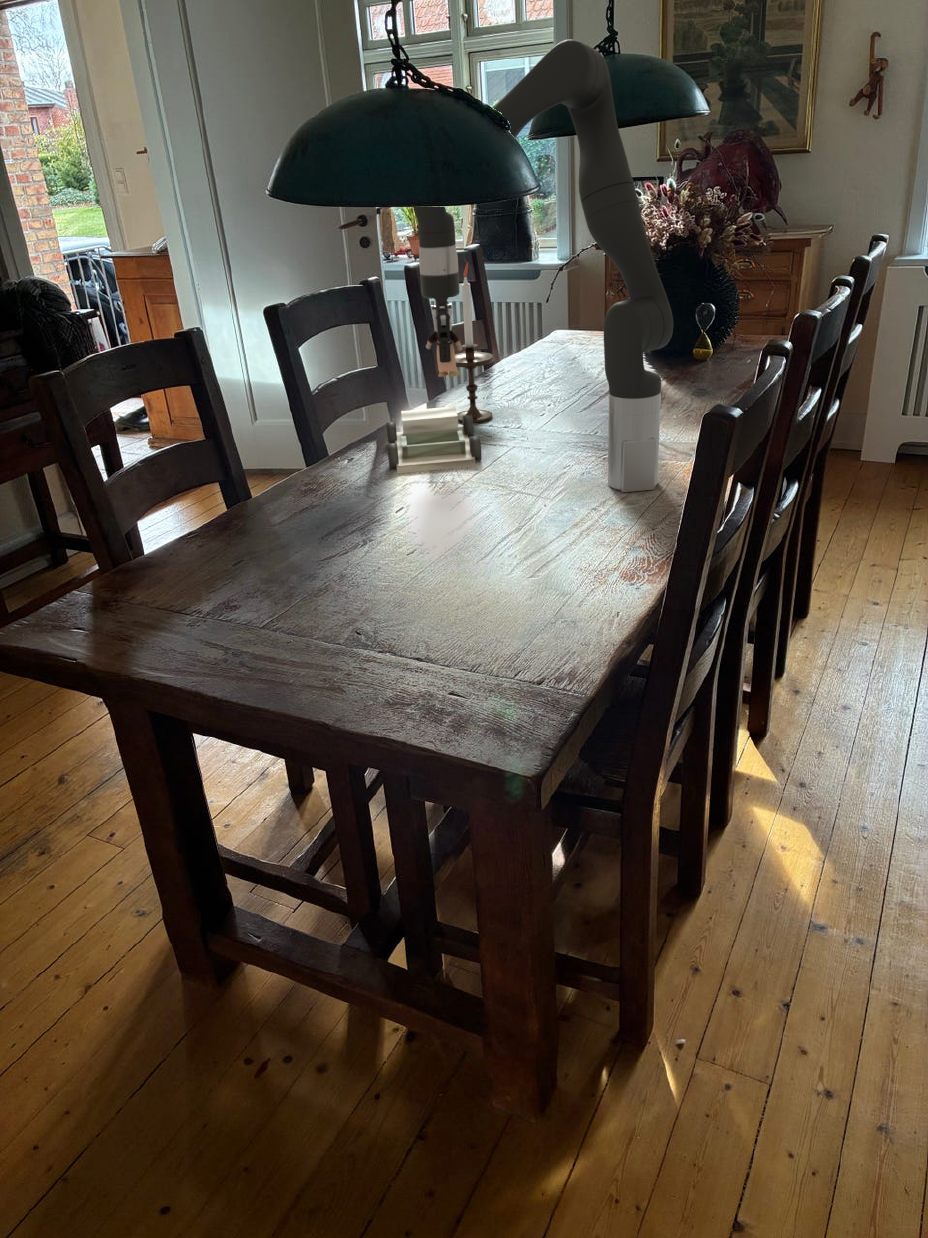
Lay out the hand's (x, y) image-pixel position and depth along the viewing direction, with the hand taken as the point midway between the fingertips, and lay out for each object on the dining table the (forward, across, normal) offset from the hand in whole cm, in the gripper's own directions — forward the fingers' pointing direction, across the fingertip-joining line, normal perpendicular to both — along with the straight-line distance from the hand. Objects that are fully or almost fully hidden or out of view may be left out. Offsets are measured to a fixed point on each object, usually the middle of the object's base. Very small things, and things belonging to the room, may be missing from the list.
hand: (445, 359), depth 187 cm
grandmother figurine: (+3, 0, 0) cm, 3 cm away
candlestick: (+20, +24, -6) cm, 32 cm away
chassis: (+20, +1, +4) cm, 20 cm away
